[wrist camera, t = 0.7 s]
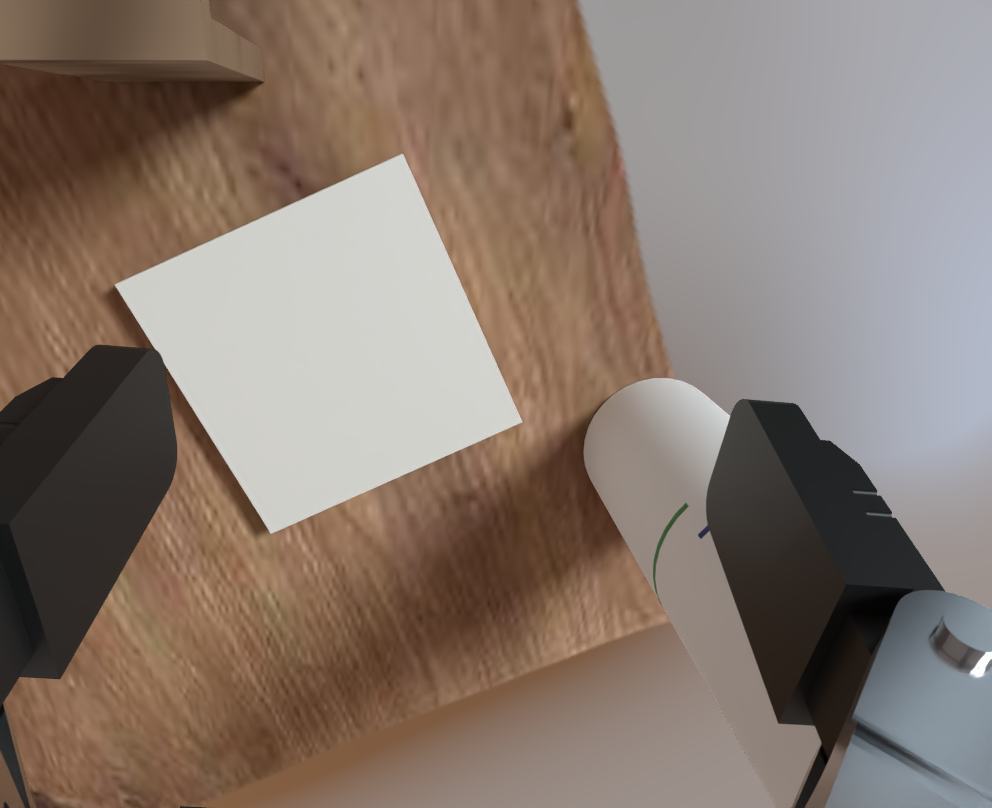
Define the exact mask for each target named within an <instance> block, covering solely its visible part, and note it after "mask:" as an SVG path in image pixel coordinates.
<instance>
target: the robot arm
mask: <svg viewBox="0 0 992 808" xmlns="http://www.w3.org/2000/svg"><path fill="white" fill-rule="evenodd" d="M176 462H177V441H176V434H175V428H174V422H173V416H172V409H171V403H170V397H169V390H168V384H167V378H166V372H165V366H164V362H163V359H162V357H161V355H160V353H159V352H158V351H157V350H155V349H146V348H134V347H122V346H110V345H96V346H94V347H92V348H91V349H90V350H89V351H88V352H87V353H86V354H85V355H84V356H83V357H82V359H81V360H80V361H79V362H78V363H77V364H76V365H75V366H74V367H73V368H72V369H71V370H70V371H69V372H68V373H67V375H66V376H65V377H64V378H54V377H52V378H50V379H48V380H46V381H45V382H43V383H41V384H39V385H37V386H35V387H33V388H31V389H29V390H27V391H26V392H24V393H22V394H20V395H18V396H16V397H15V398H14V399H13V400H12V401H11V402H10V403H9V404H8V405H7V406H6V407H5V408H4V409H3V410H2V411H1V412H0V808H34V804H33V800H32V796H31V793H30V789H29V785H28V781H27V777H26V774H25V770H24V766H23V762H22V759H21V755H20V751H19V747H18V743H17V740H16V736H15V732H14V728H13V725H12V721H11V717H10V713H9V711H8V708H7V706H6V703H5V699H6V697H7V696H8V694H9V693H10V691H11V689H12V688H13V686H14V685H15V683H16V681H17V680H18V678H19V677H31V678H48V679H61V677H62V675H63V673H64V672H65V670H66V668H67V666H68V664H69V663H70V661H71V659H72V657H73V656H74V654H75V652H76V650H77V649H78V647H79V645H80V643H81V642H82V640H83V638H84V636H85V635H86V633H87V631H88V629H89V628H90V626H91V624H92V622H93V621H94V619H95V617H96V615H97V614H98V612H99V610H100V608H101V607H102V605H103V603H104V601H105V600H106V598H107V596H108V594H109V593H110V591H111V589H112V587H113V586H114V584H115V582H116V580H117V579H118V577H119V575H120V573H121V572H122V570H123V568H124V566H125V565H126V563H127V561H128V559H129V558H130V556H131V554H132V552H133V550H134V549H135V547H136V545H137V543H138V542H139V540H140V538H141V536H142V535H143V533H144V531H145V529H146V528H147V526H148V524H149V522H150V521H151V519H152V517H153V515H154V514H155V512H156V510H157V508H158V507H159V505H160V503H161V501H162V500H163V498H164V496H165V494H166V493H167V491H168V489H169V487H170V485H171V483H172V480H173V477H174V473H175V469H176ZM891 514H892V512H891V510H890V509H889V507H888V506H887V504H886V503H885V501H884V500H883V498H882V497H881V496H877V490H876V488H875V487H874V485H873V484H872V482H871V481H870V479H869V478H868V476H867V475H866V473H865V472H864V470H863V469H862V467H861V466H860V464H858V463H857V462H855V460H853V459H852V458H851V457H850V456H848V455H847V454H846V453H844V452H843V451H842V450H841V449H840V448H838V447H837V446H836V445H834V444H833V443H832V442H831V441H825V440H820V439H819V437H818V436H817V434H816V432H815V431H814V429H813V428H812V426H811V425H810V423H809V421H808V420H807V418H806V417H805V415H804V414H803V412H802V410H801V409H800V408H799V406H798V405H796V404H794V403H784V402H772V401H760V400H748V399H742V400H740V401H738V402H737V403H736V405H735V407H734V409H733V411H732V413H731V416H730V419H729V422H728V425H727V428H726V432H725V435H724V438H723V441H722V444H721V447H720V450H719V454H718V457H717V460H716V463H715V466H714V469H713V472H712V476H711V479H710V482H709V485H708V490H707V497H706V517H707V523H708V527H709V531H710V533H711V536H712V539H713V542H714V545H715V547H716V550H717V553H718V556H719V559H720V561H721V564H722V567H723V570H724V573H725V575H726V578H727V581H728V584H729V587H730V590H731V592H732V595H733V598H734V601H735V604H736V606H737V609H738V612H739V615H740V618H741V620H742V623H743V626H744V629H745V632H746V634H747V637H748V640H749V643H750V646H751V648H752V651H753V654H754V657H755V660H756V663H757V665H758V668H759V671H760V674H761V677H762V679H763V682H764V685H765V688H766V691H767V693H768V696H769V699H770V702H771V705H772V707H773V710H774V713H775V716H776V719H777V721H778V724H792V725H810V726H815V728H816V730H817V733H818V735H819V738H820V740H821V744H820V745H819V747H818V749H817V751H816V753H815V755H814V756H813V758H812V760H811V763H810V765H809V768H808V770H807V772H806V775H805V777H804V779H803V782H802V784H801V786H800V789H799V791H798V793H797V796H796V798H795V800H794V803H793V805H792V807H791V808H992V610H990V609H989V608H987V607H985V606H983V605H981V604H979V603H977V602H975V601H973V600H970V599H968V598H966V597H963V596H959V595H956V594H953V593H949V592H945V590H944V589H943V587H942V586H941V584H940V583H939V581H938V580H937V578H936V577H935V575H934V574H933V572H932V571H931V569H930V568H929V566H928V565H927V564H926V562H925V561H924V559H923V558H922V556H921V555H920V553H919V552H918V550H917V549H916V548H915V546H914V545H913V543H912V541H911V540H910V539H909V537H908V536H907V534H906V532H905V531H904V529H903V528H902V527H901V525H900V524H899V522H898V521H897V519H896V518H892V517H891ZM180 808H204V807H184V806H180Z"/></svg>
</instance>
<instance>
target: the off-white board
mask: <svg viewBox="0 0 992 808" xmlns="http://www.w3.org/2000/svg"><path fill="white" fill-rule="evenodd" d="M115 286H116V288H117V289H118V291H119V293H120V294H121V296H122V297H123V299H124V301H125V302H126V304H127V305H128V307H129V308H130V310H131V312H132V313H133V315H134V316H135V318H136V320H137V321H138V323H139V324H140V326H141V328H142V329H143V331H144V332H145V334H146V336H147V337H148V339H149V340H150V342H151V344H152V345H153V347H154V348H155V350H157V351H158V352H159V353H160V355H161V357H162V359H163V362H164V364H165V366H166V367H167V369H168V371H169V372H170V374H171V375H172V377H173V379H174V380H175V382H176V383H177V385H178V386H179V388H180V390H181V391H182V393H183V394H184V396H185V398H186V399H187V401H188V402H189V404H190V406H191V407H192V409H193V410H194V412H195V414H196V415H197V417H198V418H199V420H200V422H201V423H202V425H203V426H204V428H205V429H206V431H207V433H208V434H209V436H210V437H211V439H212V441H213V442H214V444H215V445H216V447H217V449H218V450H219V452H220V453H221V455H222V457H223V458H224V460H225V461H226V463H227V464H228V466H229V468H230V469H231V471H232V472H233V474H234V476H235V477H236V479H237V480H238V482H239V484H240V485H241V487H242V488H243V490H244V492H245V493H246V495H247V496H248V498H249V500H250V501H251V503H252V504H253V506H254V507H255V509H256V511H257V512H258V514H259V515H260V517H261V519H262V520H263V522H264V523H265V525H266V527H267V528H268V530H269V531H270V533H271V534H272V533H274V532H276V531H278V530H281V529H283V528H285V527H287V526H290V525H292V524H294V523H296V522H299V521H301V520H303V519H305V518H308V517H310V516H312V515H314V514H317V513H319V512H321V511H323V510H326V509H328V508H330V507H332V506H335V505H337V504H339V503H341V502H344V501H346V500H348V499H350V498H353V497H355V496H357V495H359V494H362V493H364V492H366V491H368V490H371V489H373V488H375V487H377V486H380V485H382V484H384V483H386V482H389V481H391V480H393V479H395V478H398V477H400V476H402V475H404V474H407V473H409V472H411V471H413V470H416V469H418V468H420V467H422V466H425V465H427V464H429V463H431V462H434V461H436V460H438V459H440V458H443V457H445V456H447V455H449V454H452V453H454V452H456V451H458V450H461V449H463V448H465V447H467V446H470V445H472V444H474V443H476V442H479V441H481V440H483V439H485V438H488V437H490V436H492V435H495V434H497V433H499V432H501V431H504V430H506V429H508V428H510V427H513V426H515V425H517V424H519V423H522V420H521V418H520V416H519V413H518V411H517V409H516V407H515V404H514V402H513V400H512V398H511V395H510V393H509V391H508V389H507V386H506V384H505V382H504V380H503V377H502V375H501V373H500V371H499V368H498V366H497V364H496V362H495V359H494V357H493V355H492V353H491V350H490V348H489V346H488V344H487V342H486V339H485V337H484V335H483V333H482V330H481V328H480V326H479V324H478V321H477V319H476V317H475V315H474V312H473V310H472V308H471V306H470V303H469V301H468V299H467V297H466V294H465V292H464V290H463V288H462V285H461V283H460V281H459V279H458V276H457V274H456V272H455V270H454V267H453V265H452V263H451V261H450V258H449V256H448V254H447V252H446V249H445V247H444V245H443V243H442V240H441V238H440V236H439V234H438V231H437V229H436V227H435V225H434V222H433V220H432V218H431V216H430V213H429V211H428V209H427V207H426V204H425V202H424V200H423V198H422V195H421V193H420V191H419V189H418V186H417V184H416V182H415V180H414V178H413V175H412V173H411V171H410V169H409V166H408V164H407V162H406V160H405V157H404V155H403V153H401V154H399V155H397V156H395V157H393V158H390V159H388V160H386V161H384V162H382V163H379V164H377V165H375V166H373V167H371V168H368V169H366V170H364V171H362V172H360V173H357V174H355V175H353V176H351V177H349V178H346V179H344V180H342V181H340V182H338V183H335V184H333V185H331V186H329V187H327V188H324V189H322V190H320V191H318V192H316V193H313V194H311V195H309V196H307V197H305V198H302V199H300V200H298V201H296V202H294V203H291V204H289V205H287V206H285V207H283V208H280V209H278V210H276V211H274V212H272V213H269V214H267V215H265V216H263V217H261V218H258V219H256V220H254V221H252V222H250V223H247V224H245V225H243V226H241V227H239V228H236V229H234V230H232V231H230V232H228V233H225V234H223V235H221V236H219V237H217V238H214V239H212V240H210V241H208V242H206V243H203V244H201V245H199V246H197V247H195V248H192V249H190V250H188V251H186V252H184V253H181V254H179V255H177V256H175V257H173V258H170V259H168V260H166V261H164V262H162V263H159V264H157V265H155V266H153V267H151V268H148V269H146V270H144V271H142V272H140V273H137V274H135V275H133V276H131V277H129V278H126V279H124V280H122V281H120V282H119V283H117V284H115Z"/></svg>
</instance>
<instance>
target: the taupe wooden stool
mask: <svg viewBox="0 0 992 808" xmlns="http://www.w3.org/2000/svg"><path fill="white" fill-rule="evenodd" d="M0 64H2V65H8V66H14V67H20V68H26V69H32V70H38V71H44V72H50V73H56V74H62V75H68V76H73V77H79V78H85V79H91V80H97V81H103V82H264V72H263V63H262V53H261V48H259V47H257V46H256V45H254V44H253V43H251V42H249V41H248V40H246V39H245V38H243V37H241V36H240V35H238V34H236V33H235V32H233V31H232V30H230V29H228V28H227V27H225V26H224V25H222V24H220V23H219V22H217V21H215V20H214V19H212V18H211V14H210V6H209V0H0Z"/></svg>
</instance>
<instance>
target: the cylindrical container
mask: <svg viewBox="0 0 992 808" xmlns="http://www.w3.org/2000/svg"><path fill="white" fill-rule="evenodd" d="M729 419H730V416H729V415H728V414H727V413H726V412H725V411H724V410H722V409H721V408H720V407H719V406H718V405H716V404H715V403H714V402H713V401H712V400H710V399H709V398H708V397H707V396H706V395H704V394H703V393H702V392H701V391H699V390H698V389H697V388H695V387H694V386H691V385H690V384H687V383H685V382H683V381H679V380H674V379H670V378H652V379H647V380H643V381H638V382H636V383H633V384H631V385H629V386H626V387H624V388H623V389H621V390H620V391H618V392H616V393H615V394H614V395H612V396H611V397H610V398H609V399H608V400H607V401H606V402H604V404H603V405H602V406H601V407H600V409H599V410H598V411H597V412H596V414H595V415H594V417H593V419H592V421H591V423H590V425H589V427H588V430H587V433H586V437H585V440H584V451H583V455H584V462H585V468H586V470H587V473H588V476H589V478H590V480H591V482H592V484H593V485H594V487H595V489H596V491H597V492H598V494H599V496H600V498H601V499H602V501H603V503H604V505H605V507H606V508H607V510H608V512H609V514H610V515H611V517H612V519H613V521H614V522H615V524H616V526H617V528H618V530H619V531H620V533H621V535H622V537H623V538H624V540H625V542H626V544H627V545H628V547H629V549H630V551H631V552H632V554H633V556H634V558H635V560H636V561H637V563H638V565H639V567H640V568H641V570H642V572H643V574H644V575H645V577H646V579H647V581H648V583H649V584H650V586H651V588H652V590H653V591H654V593H655V595H656V597H657V598H658V600H659V602H660V604H661V605H662V607H663V609H664V611H665V613H666V614H667V616H668V618H669V620H670V621H671V623H672V625H673V627H674V628H675V630H676V632H677V634H678V636H679V637H680V639H681V641H682V642H683V644H684V646H685V648H686V650H687V651H688V653H689V655H690V657H691V658H692V660H693V662H694V664H695V666H696V667H697V669H698V671H699V673H700V674H701V676H702V678H703V679H704V681H705V683H706V685H707V687H708V688H709V690H710V692H711V694H712V696H713V697H714V699H715V701H716V703H717V704H718V706H719V708H720V710H721V711H722V713H723V715H724V717H725V718H726V720H727V722H728V724H729V725H730V727H731V728H732V731H733V732H734V734H735V736H736V738H737V740H738V741H739V743H740V745H741V747H742V748H743V750H744V752H745V754H746V755H747V757H748V759H749V761H750V762H751V764H752V766H753V768H754V770H755V771H756V773H757V775H758V777H759V778H760V780H761V782H762V784H763V786H764V787H765V789H766V791H767V793H768V794H769V796H770V798H771V800H772V801H773V803H774V805H775V807H776V808H791V807H792V805H793V803H794V800H795V798H796V796H797V793H798V791H799V789H800V786H801V784H802V782H803V779H804V777H805V775H806V772H807V770H808V768H809V765H810V763H811V760H812V758H813V756H814V755H815V753H816V751H817V749H818V747H819V745H820V744H821V740H820V738H819V735H818V733H817V730H816V728H815V726H810V725H792V724H778V721H777V719H776V716H775V713H774V710H773V707H772V705H771V702H770V699H769V696H768V693H767V691H766V688H765V685H764V682H763V679H762V677H761V674H760V671H759V668H758V665H757V663H756V660H755V657H754V654H753V651H752V648H751V646H750V643H749V640H748V637H747V634H746V632H745V629H744V626H743V623H742V620H741V618H740V615H739V612H738V609H737V606H736V604H735V601H734V598H733V595H732V592H731V590H730V587H729V584H728V581H727V578H726V575H725V573H724V570H723V567H722V564H721V561H720V559H719V556H718V553H717V550H716V547H715V545H714V542H713V539H712V536H711V533H710V531H709V527H708V523H707V517H706V497H707V490H708V485H709V482H710V479H711V476H712V472H713V469H714V466H715V463H716V460H717V457H718V454H719V450H720V447H721V444H722V441H723V438H724V435H725V432H726V428H727V425H728V422H729Z"/></svg>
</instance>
